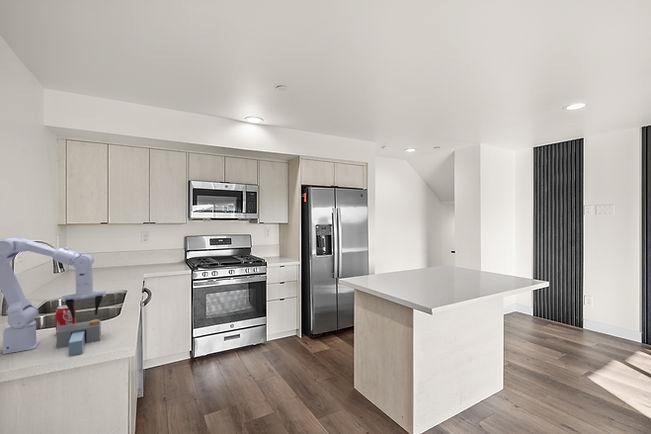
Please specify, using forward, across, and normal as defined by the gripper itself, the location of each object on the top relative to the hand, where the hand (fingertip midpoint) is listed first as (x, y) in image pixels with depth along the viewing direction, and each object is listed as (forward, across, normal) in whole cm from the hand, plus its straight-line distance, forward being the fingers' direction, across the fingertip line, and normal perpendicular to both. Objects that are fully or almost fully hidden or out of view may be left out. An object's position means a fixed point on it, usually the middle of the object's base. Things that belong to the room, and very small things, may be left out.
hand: (85, 315), depth 138 cm
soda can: (+11, -8, +14) cm, 19 cm away
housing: (+10, -2, +1) cm, 11 cm away
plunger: (+8, +3, +2) cm, 8 cm away
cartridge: (+10, -2, -8) cm, 13 cm away
